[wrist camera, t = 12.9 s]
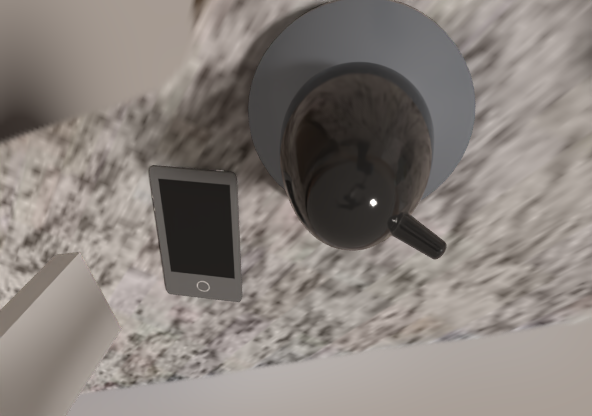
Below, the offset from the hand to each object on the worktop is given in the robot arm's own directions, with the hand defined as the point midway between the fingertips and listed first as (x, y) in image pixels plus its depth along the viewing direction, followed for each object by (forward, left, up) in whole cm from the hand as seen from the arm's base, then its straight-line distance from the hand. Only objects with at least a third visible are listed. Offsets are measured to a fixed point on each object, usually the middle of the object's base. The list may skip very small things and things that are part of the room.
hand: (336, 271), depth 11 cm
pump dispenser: (+1, +5, -26) cm, 26 cm away
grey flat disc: (+1, +5, -27) cm, 28 cm away
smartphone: (+18, +15, -28) cm, 36 cm away
